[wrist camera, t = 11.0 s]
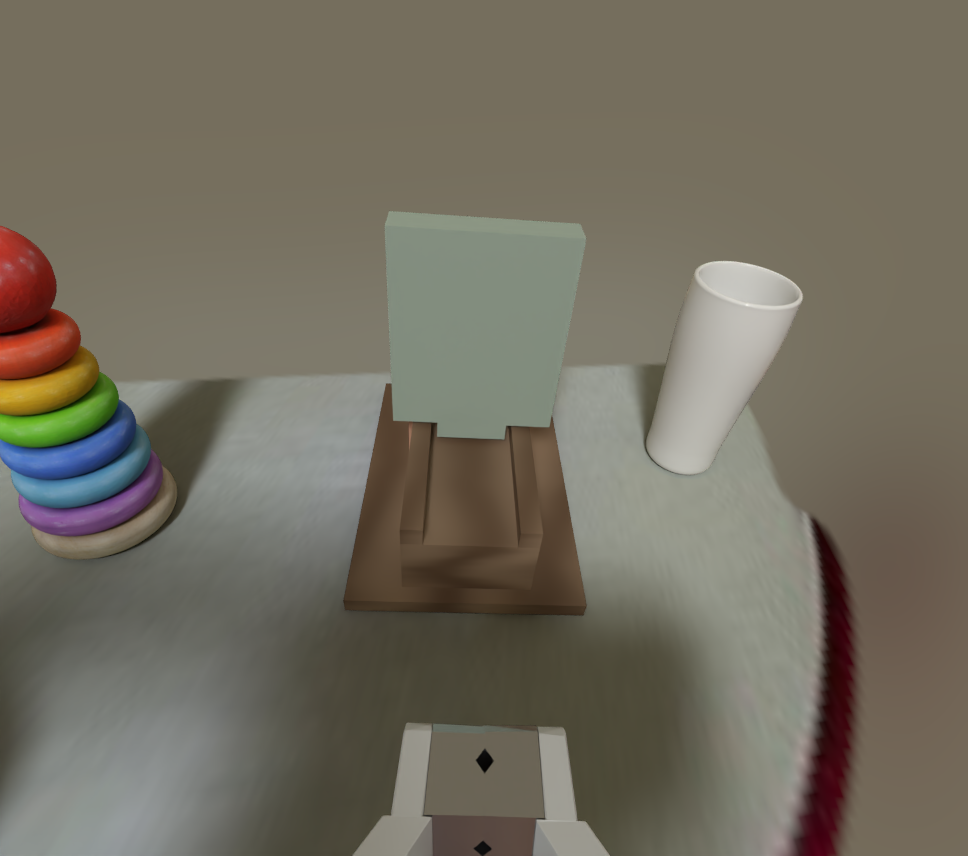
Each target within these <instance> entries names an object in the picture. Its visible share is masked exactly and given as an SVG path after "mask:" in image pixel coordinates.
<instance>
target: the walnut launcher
mask: <svg viewBox="0 0 968 856" xmlns="http://www.w3.org/2000/svg"><path fill="white" fill-rule="evenodd" d="M344 606H345V610H360V611H406V612H452V613H498V614H544V615H584V612H585V609H586V600H585V595H584V589H583V583H582V578H581V572H580V567H579V561H578V556H577V550H576V545H575V539H574V534H573V528H572V523H571V517H570V512H569V506H568V501H567V495H566V490H565V484H564V479H563V473H562V467H561V462H560V456H559V451H558V445H557V440H556V434H555V429H554V423H553V418H552V416H551V421H550V426H549V427H527V426H506V430H505V438H504V440H503V439H479V438H455V437H437V423H435V422H413V425H412V433H411V441H410V449H409V421H393V405H392V384H386V387H385V392H384V397H383V402H382V407H381V412H380V418H379V423H378V428H377V433H376V438H375V443H374V448H373V453H372V458H371V463H370V468H369V474H368V479H367V484H366V489H365V494H364V499H363V504H362V509H361V514H360V519H359V524H358V529H357V535H356V540H355V545H354V550H353V555H352V560H351V565H350V570H349V575H348V580H347V585H346V591H345V596H344Z"/></svg>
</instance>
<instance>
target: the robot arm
mask: <svg viewBox="0 0 968 856" xmlns="http://www.w3.org/2000/svg"><path fill="white" fill-rule="evenodd" d="M352 856H610V854H609V853H608V852H607V850H606V849H605V847H604V846H603V844H602V843H601V842H600V840H599V839H598V837H597V836H596V835H595V833H594V832H593V830H592V829H591V828H590V826H589V825H588V823H587V822H586V821H578V819H577V812H576V804H575V797H574V789H573V782H572V774H571V767H570V760H569V752H568V745H567V737H566V732H565V730H564V728H563V727H536V726H525V725H485V726H475V725H453V724H433V723H406V726H405V729H404V733H403V739H402V746H401V752H400V758H399V765H398V771H397V778H396V784H395V791H394V797H393V804H392V810H391V815H382V817H381V818H380V819H379V821H378V822H377V823H376V825H375V826H374V827H373V829H372V830H371V831H370V832H369V834H368V835H367V836H366V838H365V839H364V840H363V842H362V843H361V844H360V846H359V847H358V848H357V850H356V851H355V852H354V854H353V855H352Z"/></svg>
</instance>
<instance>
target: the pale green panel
mask: <svg viewBox="0 0 968 856" xmlns="http://www.w3.org/2000/svg"><path fill="white" fill-rule="evenodd" d="M385 243H386V244H385V245H386V265H387V266H386V268H387V290H388V313H389V336H390V359H391V382H392V405H393V421H412V422H435V423H437V437H455V438H479V439H503V440H504V438H505V430H506V426H527V427H549V426H550V421H551V416H552V411H553V406H554V401H555V396H556V391H557V386H558V381H559V375H560V370H561V365H562V360H563V355H564V350H565V345H566V340H567V334H568V329H569V325H570V319H571V314H572V309H573V304H574V299H575V293H576V289H577V284H578V279H579V274H580V269H581V264H582V258H583V253H584V248H585V243H586V237H585V234H584V232H583V229H582V227H581V225H580V224H572V223H556V222H542V221H527V220H512V219H497V218H482V217H467V216H452V215H437V214H422V213H407V212H392V211H390V212H389V214H388V217H387V220H386V223H385Z"/></svg>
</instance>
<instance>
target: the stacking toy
mask: <svg viewBox="0 0 968 856" xmlns="http://www.w3.org/2000/svg"><path fill="white" fill-rule="evenodd" d="M55 296H56V279H55V275H54V272H53V270H52V267H51V265H50V263H49V261H48V260H47V258H46V257H45V255H44V254H43V253H42V251H41V250H40V249H39V248H38V247H37V246H36V245H35V244H33V243H32V242H31V241H30V240H28V239H27V238H25V237H24V236H22V235H20V234H18V233H17V232H15V231H12V230H10V229H8V228H5V227H3V226H0V457H1V459H2V461H3V462H4V463H5V464H6V465H7V466H8V467H9V468H10V469H11V478H12V482H13V485H14V487H15V488H16V490H17V491H18V492H19V493H20V494H19V508H20V511H21V513H22V515H23V517H24V518H25V520H26V521H27V522H28V523H29V524H30V525H31V529H32V533H33V536H34V538H35V540H36V541H37V542H38V544H39V545H40V546H41V547H42V548H43V549H45V550H46V551H47V552H49V553H51V554H53V555H56V556H58V557H62V558H68V559H94V558H100V557H104V556H109V555H112V554H115V553H118V552H121V551H123V550H126V549H128V548H130V547H132V546H134V545H136V544H138V543H140V542H141V541H143V540H145V539H146V538H147V537H149V536H150V535H152V534H153V533H154V532H155V531H156V530H157V529H159V528H160V527H161V526H162V524H163V523H164V522H165V521H166V520H167V519H168V517H169V516H170V514H171V512H172V510H173V508H174V506H175V503H176V499H177V486H176V482H175V480H174V478H173V476H172V474H171V473H170V472H169V471H168V470H167V469H166V468H165V467H164V466H162V464H161V461H160V459H159V458H158V456H157V455H156V453H155V452H154V451H153V450H152V449H151V444H150V440H149V438H148V435H147V434H146V432H145V431H144V430H143V429H142V428H141V427H140V426H139V425H138V424H136V419H135V416H134V414H133V412H132V410H131V409H130V408H129V407H128V406H127V405H126V404H125V403H124V402H122V401H121V400H119V395H118V391H117V388H116V386H115V384H114V383H113V382H112V380H111V379H110V378H108V377H107V376H106V375H104V374H103V373H101V372H99V365H98V363H97V360H96V358H95V357H94V355H93V354H92V353H91V352H90V351H88V350H87V349H85V348H84V347H82V346H80V341H81V335H80V331H79V328H78V326H77V324H76V323H75V321H74V320H73V319H72V318H71V317H69V316H68V315H66V314H65V313H63V312H61V311H58V310H55V309H51V307H52V304H53V302H54V300H55Z"/></svg>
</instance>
